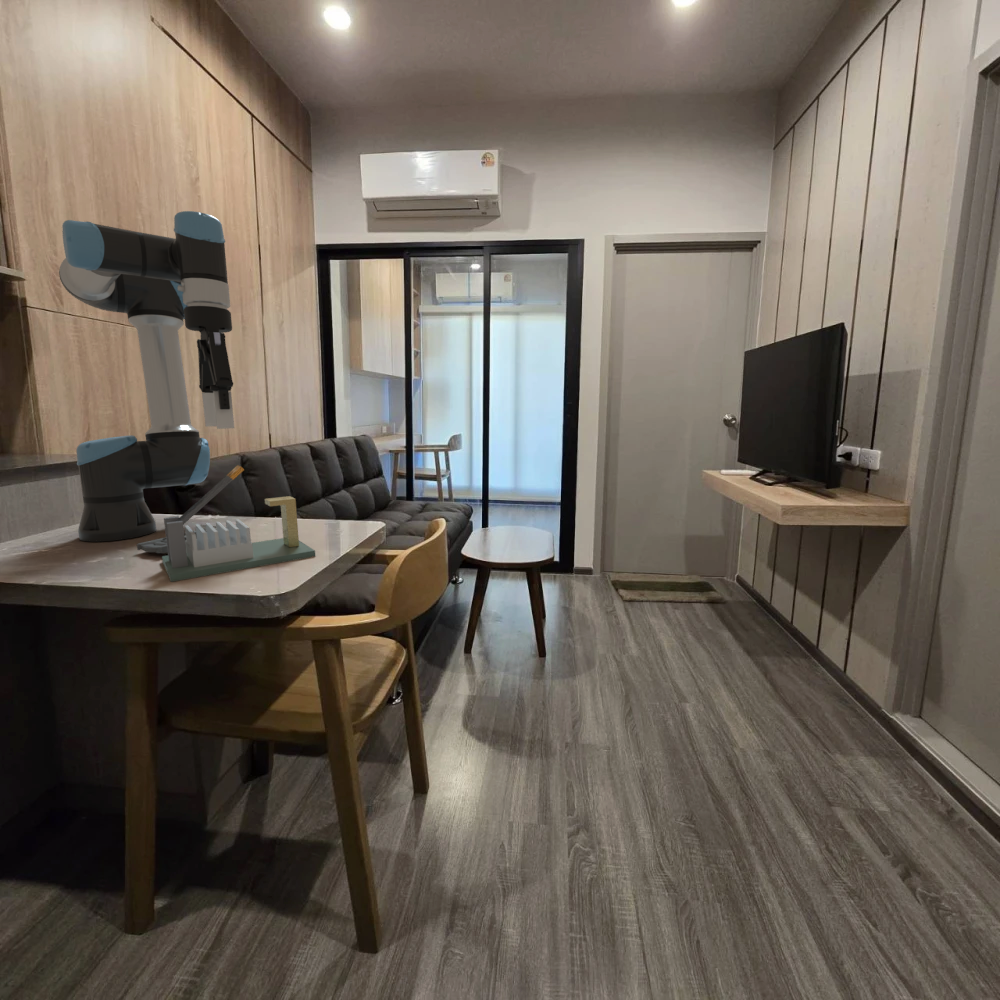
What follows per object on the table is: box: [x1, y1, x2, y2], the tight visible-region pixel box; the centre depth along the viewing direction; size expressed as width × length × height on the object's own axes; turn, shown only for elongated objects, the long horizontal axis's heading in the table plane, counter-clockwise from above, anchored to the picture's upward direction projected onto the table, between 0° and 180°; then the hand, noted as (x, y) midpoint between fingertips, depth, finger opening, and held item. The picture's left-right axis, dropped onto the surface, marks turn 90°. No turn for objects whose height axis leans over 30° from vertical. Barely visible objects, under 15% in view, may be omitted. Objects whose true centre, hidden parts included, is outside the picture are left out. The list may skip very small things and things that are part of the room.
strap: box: [175, 464, 245, 526], centre depth 98 cm, size 3×17×1 cm
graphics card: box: [136, 524, 217, 555], centre depth 114 cm, size 17×4×12 cm
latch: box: [264, 495, 300, 547], centre depth 107 cm, size 4×5×10 cm
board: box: [161, 515, 316, 582], centre depth 103 cm, size 15×25×10 cm, turn 127°
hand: (219, 427), depth 98 cm, fingers open, 12 cm apart
